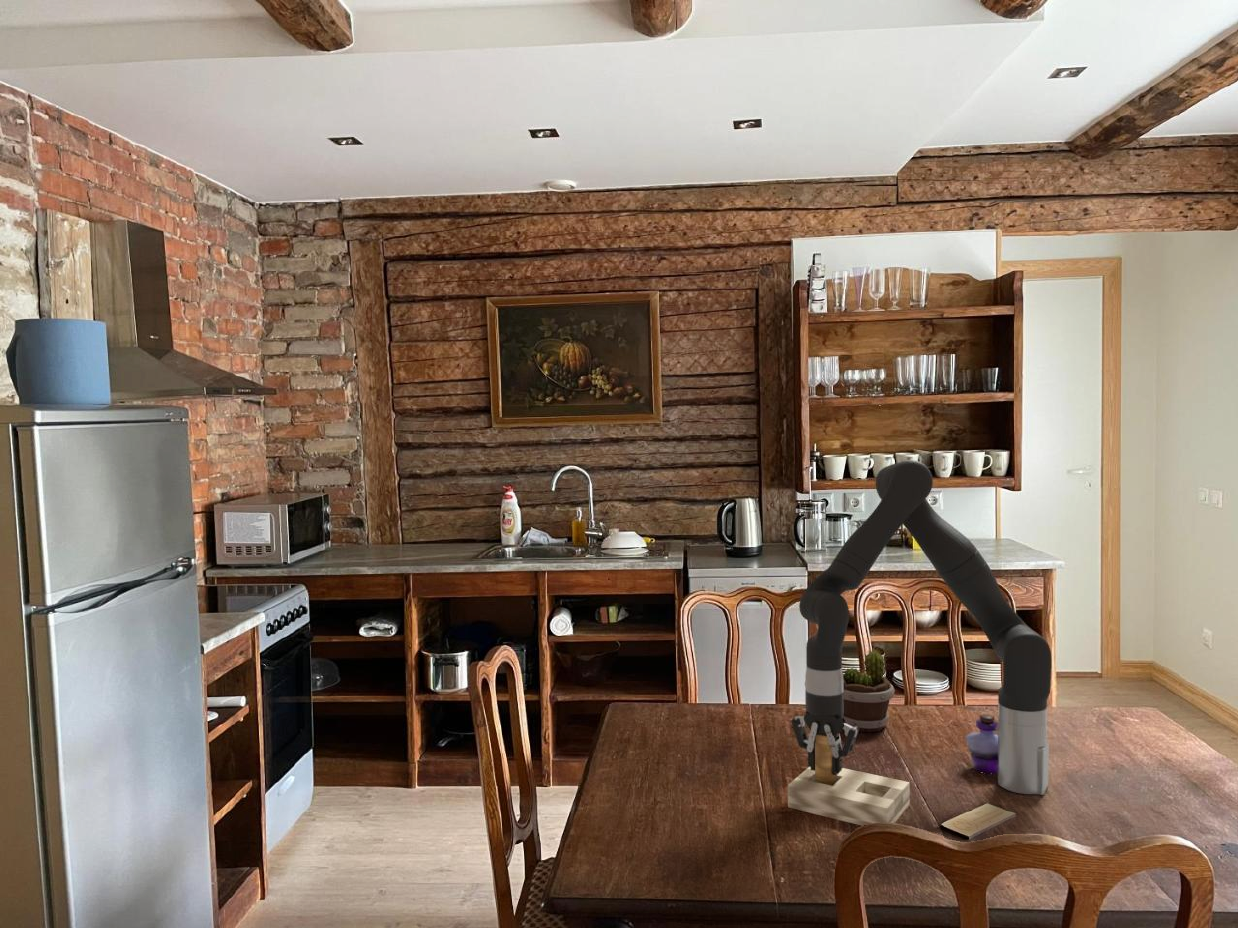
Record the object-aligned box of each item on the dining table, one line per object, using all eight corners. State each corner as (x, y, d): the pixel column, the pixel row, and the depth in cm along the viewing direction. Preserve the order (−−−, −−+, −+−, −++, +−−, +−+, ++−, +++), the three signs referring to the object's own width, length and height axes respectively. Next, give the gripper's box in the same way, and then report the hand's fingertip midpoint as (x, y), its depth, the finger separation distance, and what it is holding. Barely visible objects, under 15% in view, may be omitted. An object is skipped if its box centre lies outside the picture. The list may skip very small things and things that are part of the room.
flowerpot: (853, 739, 216) (853, 657, 214) (822, 718, 230) (822, 641, 229) (906, 732, 219) (906, 651, 218) (873, 712, 234) (872, 637, 233)
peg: (838, 790, 183) (837, 732, 182) (831, 797, 180) (830, 738, 179) (819, 785, 185) (819, 728, 185) (812, 792, 182) (811, 734, 181)
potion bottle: (1010, 779, 191) (1010, 724, 190) (966, 775, 193) (966, 720, 193) (1006, 764, 199) (1006, 711, 198) (964, 760, 202) (965, 707, 201)
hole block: (909, 804, 180) (909, 782, 180) (887, 831, 168) (887, 808, 168) (814, 782, 191) (814, 761, 191) (787, 806, 180) (787, 784, 179)
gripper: (865, 688, 180) (865, 772, 181) (798, 678, 188) (799, 758, 189) (852, 699, 174) (852, 785, 175) (783, 687, 182) (784, 770, 183)
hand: (824, 770), depth 182 cm, fingers closed on peg, 4 cm apart
